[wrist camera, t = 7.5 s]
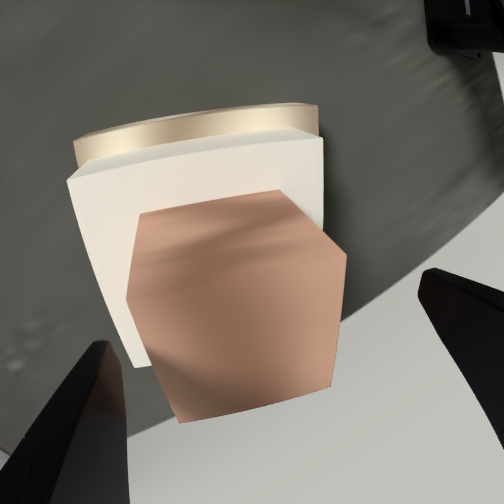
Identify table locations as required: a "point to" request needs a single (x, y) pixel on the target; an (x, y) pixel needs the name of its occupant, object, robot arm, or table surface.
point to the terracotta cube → (236, 302)
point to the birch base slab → (195, 128)
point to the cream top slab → (183, 196)
